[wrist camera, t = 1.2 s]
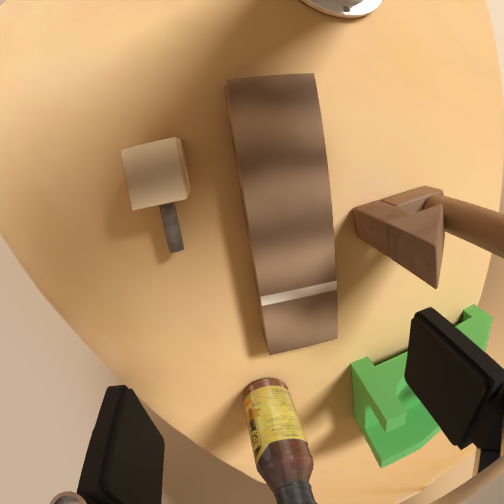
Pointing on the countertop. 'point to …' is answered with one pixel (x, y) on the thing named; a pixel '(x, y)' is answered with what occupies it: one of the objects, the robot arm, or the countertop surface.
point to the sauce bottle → (279, 441)
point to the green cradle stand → (401, 398)
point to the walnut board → (286, 206)
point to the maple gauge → (158, 181)
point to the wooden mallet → (426, 228)
